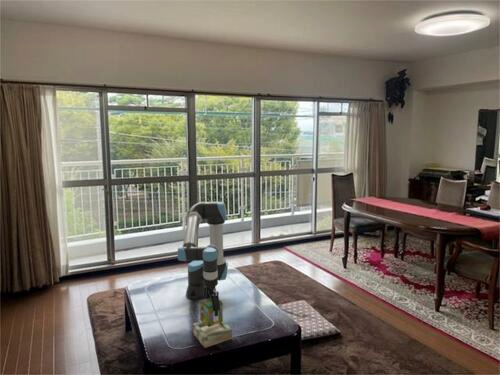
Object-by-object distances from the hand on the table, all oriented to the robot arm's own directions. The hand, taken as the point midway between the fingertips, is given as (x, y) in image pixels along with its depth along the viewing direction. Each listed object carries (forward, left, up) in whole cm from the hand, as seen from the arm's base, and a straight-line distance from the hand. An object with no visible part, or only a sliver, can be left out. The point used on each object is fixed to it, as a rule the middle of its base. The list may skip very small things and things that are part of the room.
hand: (211, 316), depth 195 cm
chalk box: (0, 0, -3) cm, 3 cm away
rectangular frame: (0, 0, -11) cm, 11 cm away
